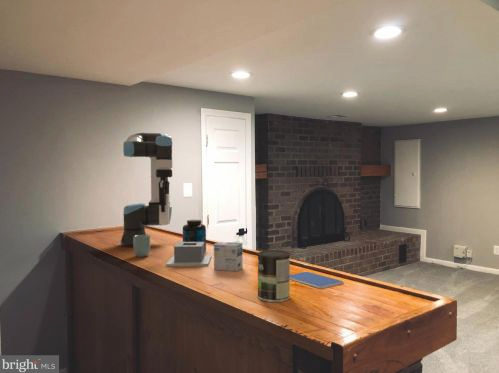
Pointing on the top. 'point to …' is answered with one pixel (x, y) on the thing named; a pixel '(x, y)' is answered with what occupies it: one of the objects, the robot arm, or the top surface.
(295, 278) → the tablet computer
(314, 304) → the top surface
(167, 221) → the peg
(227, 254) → the light bulb box
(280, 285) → the coffee can
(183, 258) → the socket block
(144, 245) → the cup
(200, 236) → the container
